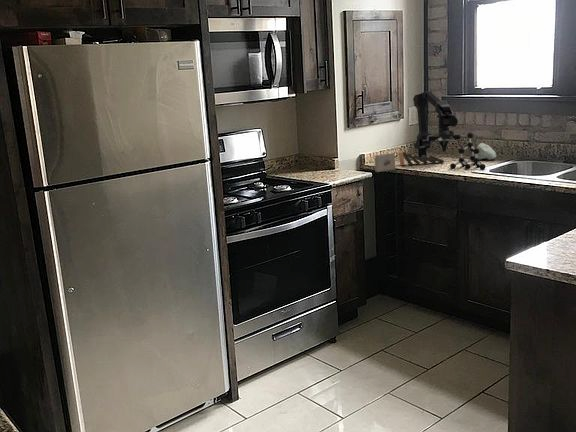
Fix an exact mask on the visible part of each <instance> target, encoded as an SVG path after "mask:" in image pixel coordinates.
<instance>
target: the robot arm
mask: <svg viewBox="0 0 576 432" xmlns="http://www.w3.org/2000/svg"><path fill="white" fill-rule="evenodd" d="M412 100H413V105H414V106H415V108H416V110H417V112H416V113H417V122H418V134H417V136H416V142H415V143H414V145H413V146H414V149H416V150H417V156H419V157H422V155H424V156H426V157H428V149H430V148H431V146H432V142H435V141H436V142H438V143H439V146H440V149H441V151H442V153H445V151H446V148H447V146H448V144H449V142H452V141H451V139H454V140H461V134H460V133H455V132H454V130H450V128H449V127H452V128H453V127H457V125H458V123H459V122H458V118H457V116H455V114H454V111H453V110H452V108H451V105H450V104H449V103H448V102H445V101H442V100H440V99H439V97H437V96H436V95H435V94H434V93H433V91H432V90H428V91H423V92H422V93H418V94H415V95H414V96H413V99H412ZM428 102H429V103H430V104H431V105H432V106H433V107H434V110H435V112H436V114H437V115H436V118H437V119H438V123H437V124H438V125H437V127H438V128H437V129H438V135H434V134H431V133H429V132H428V126H427V113H426V112H427V111H426V108H427V105H428V104H429V103H428Z"/></svg>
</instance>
